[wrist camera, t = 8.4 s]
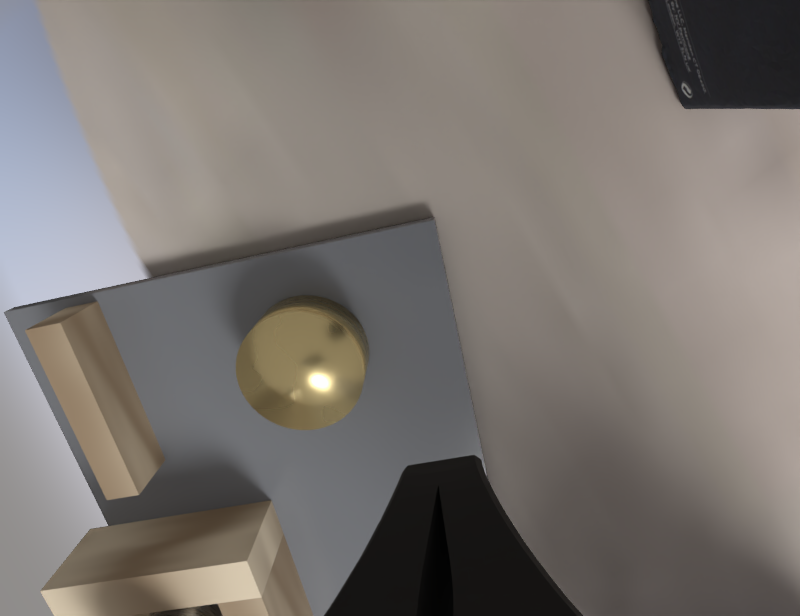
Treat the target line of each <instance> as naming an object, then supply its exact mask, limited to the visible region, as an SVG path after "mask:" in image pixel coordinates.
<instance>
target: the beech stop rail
mask: <svg viewBox="0 0 800 616" xmlns="http://www.w3.org/2000/svg"><path fill="white" fill-rule="evenodd" d="M25 332H26V334H27V336H28V338H29V340H30V342H31V344H32V346H33V348H34V350H35V352H36V355H37V357H38V359H39V361H40V363H41V365H42V367H43V369H44V371H45V373H46V375H47V377H48V379H49V381H50V384H51V386H52V388H53V390H54V392H55V394H56V396H57V398H58V400H59V402H60V404H61V406H62V408H63V410H64V413H65V415H66V417H67V419H68V421H69V423H70V425H71V427H72V429H73V431H74V433H75V435H76V437H77V439H78V442H79V444H80V446H81V448H82V450H83V452H84V454H85V456H86V458H87V460H88V462H89V464H90V466H91V468H92V471H93V473H94V475H95V477H96V479H97V481H98V483H99V485H100V487H101V489H102V491H103V493H104V495H105V497H106V500H112V499H118V498H124V497H130V496H136V495H139V494H140V493H141V492H142V490H143V489H144V488H145V486H146V485H147V484H148V482H149V481H150V480H151V478H152V477H153V476H154V474H155V473H156V472H157V470H158V469H159V468H160V467H161V465H162V464H163V463H164V461H165V457H164V455H163V453H162V450H161V448H160V446H159V443H158V441H157V439H156V436H155V434H154V432H153V429H152V427H151V425H150V422H149V420H148V418H147V415H146V413H145V411H144V408H143V406H142V404H141V401H140V399H139V397H138V394H137V392H136V390H135V387H134V385H133V383H132V380H131V378H130V376H129V373H128V371H127V369H126V366H125V364H124V362H123V359H122V357H121V355H120V352H119V350H118V348H117V345H116V343H115V341H114V338H113V336H112V334H111V331H110V329H109V327H108V324H107V322H106V320H105V317H104V315H103V313H102V310H101V308H100V305H99V303H98V301H97V302H92V303H87V304H83V305H78V306H73V307H68V308H65V309H63V310H61V311H59V312H57V313H56V314H54V315H52V316H50V317H48V318H46V319H45V320H43V321H41V322H39V323H37V324H35V325H34V326H32V327H30V328H28V329H26V330H25Z"/></svg>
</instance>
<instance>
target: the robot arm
mask: <svg viewBox="0 0 800 616" xmlns="http://www.w3.org/2000/svg"><path fill="white" fill-rule="evenodd" d="M324 616H583V615H582V614H581V613H580V612H579V611H578V610H577V608H576V607H575V606H574V605H573V604H572V603H571V602H570V600H569V599H568V598H567V597H566V596H565V594H564V593H563V592H562V591H561V590H560V588H559V587H558V586H557V585H556V583H555V582H554V581H553V580H552V578H551V577H550V576H549V575H548V573H547V572H546V571H545V569H544V568H543V567H542V565H541V564H540V563H539V561H538V560H537V559H536V557H535V556H534V555H533V553H532V552H531V551H530V549H529V548H528V546H527V545H526V543H525V542H524V541H523V539H522V538H521V536H520V535H519V533H518V532H517V530H516V528H515V527H514V525H513V524H512V522H511V521H510V519H509V518H508V516H507V514H506V513H505V511H504V509H503V508H502V506H501V504H500V503H499V501H498V499H497V497H496V495H495V493H494V491H493V489H492V488H491V485H490V483H489V481H488V479H487V476H486V474H485V471H484V468H483V465H482V460H481V459H480V458H478V457H477V456H475V455H469V456H463V457H457V458H451V459H445V460H438V461H432V462H426V463H420V464H414V465H408V466H407V467H406V468H405V469H404V471H403V472H402V474H401V477H400V479H399V481H398V484H397V486H396V488H395V490H394V493H393V495H392V497H391V499H390V501H389V503H388V505H387V507H386V510H385V512H384V514H383V516H382V518H381V520H380V522H379V524H378V525H377V527H376V529H375V531H374V533H373V535H372V537H371V539H370V540H369V542H368V544H367V546H366V548H365V550H364V552H363V553H362V555H361V557H360V559H359V560H358V562H357V564H356V565H355V567H354V569H353V570H352V572H351V574H350V575H349V577H348V579H347V580H346V582H345V583H344V585H343V587H342V588H341V590H340V592H339V593H338V595H337V597H336V598H335V600H334V601H333V603H332V604H331V606H330V607H329V609H328V610H327V612H326V613H325V615H324Z"/></svg>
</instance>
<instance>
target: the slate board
mask: <svg viewBox="0 0 800 616" xmlns="http://www.w3.org/2000/svg"><path fill="white" fill-rule="evenodd" d="M300 295H313V296H320V297H324V298H327V299H330V300H332V301H335V302H336V303H338V304H340V305H342V306H343V307H345V308H346V309H347V310H349V311H350V312H351V313H352V314H353V315H354V316H355V317H356V319H357V320H358V321H359V323H360V324H361V326H362V327H363V329H364V331H365V333H366V336H367V339H368V344H369V362H368V366H367V371H366V375H365V379H364V383H363V388H362V392H361V395H360V397H359V399H358V401H357V403H356V405H355V406H354V407H353V409H352V410H351V411H350V412H349V413H348V414H347V415H346V416H345V417H344V418H342V419H341V420H339V421H338V422H336V423H334V424H332V425H330V426H327V427H324V428H320V429H315V430H296V429H290V428H286V427H283V426H280V425H277V424H275V423H273V422H271V421H269V420H267V419H266V418H264V417H263V416H261V415H260V414H259V413H258V412H256V411H255V410H254V409H253V408H252V407H251V405H250V404H249V403H248V402H247V400H246V399H245V397H244V395H243V394H242V392H241V389H240V387H239V384H238V381H237V376H236V358H237V354H238V350H239V348H240V346H241V343H242V342H243V340H244V339H245V337H246V336H247V334H248V333H249V332H250V331H251V329H252V328H253V327H254V326H255V324H256V323H257V322H258V321H259V319H260V318H261V317H262V316H263V315H264V313H265V312H266V311H267V310H268V309H269V308H271V307H272V306H273V305H275V304H276V303H278V302H280V301H282V300H284V299H287V298H290V297H294V296H300ZM97 301H98V303H99V305H100V308H101V310H102V313H103V315H104V317H105V320H106V322H107V324H108V327H109V329H110V331H111V334H112V336H113V338H114V341H115V343H116V345H117V348H118V350H119V352H120V355H121V357H122V359H123V362H124V364H125V366H126V369H127V371H128V373H129V376H130V378H131V380H132V383H133V385H134V387H135V390H136V392H137V394H138V397H139V399H140V401H141V404H142V406H143V408H144V411H145V413H146V415H147V418H148V420H149V422H150V425H151V427H152V429H153V432H154V434H155V436H156V439H157V441H158V443H159V446H160V448H161V450H162V453H163V455H164V457H165V461H164V463H163V464H162V465H161V467H160V468H159V469H158V470H157V472H156V473H155V474H154V476H153V477H152V478H151V480H150V481H149V482H148V484H147V485H146V486H145V488H144V489H143V490H142V492H141V493H140V494H139V495H136V496H130V497H124V498H118V499H112V500H106V497H105V495H104V493H103V491H102V489H101V487H100V485H99V483H98V481H97V479H96V477H95V475H94V473H93V471H92V468H91V466H90V464H89V462H88V460H87V458H86V456H85V454H84V452H83V450H82V448H81V446H80V444H79V442H78V439H77V437H76V435H75V433H74V431H73V429H72V427H71V425H70V423H69V421H68V419H67V417H66V415H65V413H64V410H63V408H62V406H61V404H60V402H59V400H58V398H57V396H56V394H55V392H54V390H53V388H52V386H51V384H50V381H49V379H48V377H47V375H46V373H45V371H44V369H43V367H42V365H41V363H40V361H39V359H38V357H37V355H36V352H35V350H34V348H33V346H32V344H31V342H30V340H29V338H28V336H27V334H26V332H25V330H26V329H28V328H30V327H32V326H34V325H35V324H37V323H39V322H41V321H43V320H45V319H46V318H48V317H50V316H52V315H54V314H56V313H57V312H59V311H61V310H63V309H65V308H68V307H73V306H78V305H83V304H87V303H92V302H97ZM4 314H5V316H6V318H7V319H8V322H9V324H10V326H11V328H12V330H13V332H14V334H15V336H16V338H17V340H18V342H19V344H20V346H21V348H22V350H23V352H24V354H25V356H26V359H27V360H28V363H29V365H30V367H31V369H32V371H33V373H34V375H35V377H36V379H37V381H38V383H39V385H40V387H41V389H42V391H43V393H44V395H45V397H46V399H47V401H48V403H49V405H50V407H51V409H52V412H53V413H54V416H55V418H56V420H57V422H58V424H59V426H60V428H61V430H62V432H63V434H64V436H65V438H66V440H67V442H68V444H69V446H70V448H71V450H72V452H73V454H74V456H75V458H76V460H77V462H78V464H79V467H80V469H81V471H82V473H83V475H84V477H85V479H86V481H87V483H88V485H89V487H90V489H91V491H92V493H93V495H94V497H95V499H96V501H97V503H98V505H99V507H100V509H101V511H102V513H103V515H104V518H105V520H106V522H107V524H108V526H112V525H119V524H125V523H131V522H138V521H144V520H150V519H157V518H163V517H169V516H175V515H182V514H188V513H194V512H201V511H207V510H213V509H220V508H226V507H232V506H238V505H245V504H251V503H257V502H264V501H270V500H271V501H272V503H273V506H274V509H275V511H276V514H277V517H278V520H279V522H280V525H281V528H282V531H283V533H284V536H285V539H286V542H287V544H288V547H289V550H290V553H291V555H292V558H293V561H294V564H295V566H296V569H297V572H298V575H299V577H300V580H301V583H302V586H303V588H304V591H305V594H306V597H307V599H308V602H309V605H310V608H311V610H312V613H313V616H324V615H325V613H326V612H327V610H328V609H329V607H330V606H331V604H332V603H333V601H334V600H335V598H336V597H337V595H338V593H339V592H340V590H341V588H342V587H343V585H344V583H345V582H346V580H347V579H348V577H349V575H350V574H351V572H352V570H353V569H354V567H355V565H356V564H357V562H358V560H359V559H360V557H361V555H362V553H363V552H364V550H365V548H366V546H367V544H368V542H369V540H370V539H371V537H372V535H373V533H374V531H375V529H376V527H377V525H378V524H379V522H380V520H381V518H382V516H383V514H384V512H385V510H386V507H387V505H388V503H389V501H390V499H391V497H392V495H393V493H394V490H395V488H396V486H397V484H398V481H399V479H400V477H401V474H402V472H403V471H404V469H405V468H406V467H407V466H408V465H414V464H420V463H426V462H432V461H438V460H445V459H451V458H457V457H463V456H469V455H475V456H477V457H478V458H480V459H481V460H482V465H483V468H484V471H485V474H486V476H487V472H486V467H485V462H484V457H483V452H482V447H481V442H480V437H479V433H478V428H477V423H476V418H475V413H474V408H473V403H472V399H471V394H470V389H469V384H468V379H467V374H466V369H465V364H464V360H463V355H462V350H461V345H460V340H459V335H458V330H457V325H456V321H455V316H454V311H453V306H452V301H451V296H450V291H449V287H448V282H447V277H446V272H445V267H444V262H443V257H442V252H441V248H440V243H439V238H438V233H437V228H436V223H435V218H434V217H432V218H427V219H423V220H418V221H413V222H409V223H404V224H400V225H395V226H390V227H386V228H381V229H376V230H372V231H367V232H362V233H358V234H353V235H348V236H344V237H339V238H334V239H330V240H325V241H321V242H316V243H311V244H307V245H302V246H297V247H293V248H288V249H283V250H279V251H274V252H269V253H265V254H260V255H256V256H251V257H246V258H242V259H237V260H232V261H228V262H223V263H218V264H214V265H209V266H204V267H200V268H195V269H190V270H186V271H181V272H177V273H172V274H167V275H163V276H158V277H153V278H149V279H144V280H139V281H135V282H130V283H126V284H121V285H116V286H112V287H108V288H102V289H98V290H94V291H89V292H84V293H79V294H74V295H70V296H65V297H60V298H56V299H51V300H47V301H42V302H37V303H33V304H28V305H23V306H19V307H14V308H12V309H10V310H8V311H6V312H4ZM487 479H488V476H487Z"/></svg>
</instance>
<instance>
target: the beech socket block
mask: <svg viewBox="0 0 800 616" xmlns="http://www.w3.org/2000/svg"><path fill="white" fill-rule="evenodd" d="M41 593H42V595H43V597H44V599H45V600H46V602H47V604H48V606H49V607H50V609H51V611H52V613H53V615H54V616H148V615H149V613H152V612H160V611H167V610H174V609H181V608H189V607H196V606H203V605H211V604H218V606H219V608H220V610H221V613H222V615H223V616H313V613H312V610H311V608H310V605H309V602H308V599H307V597H306V594H305V591H304V588H303V586H302V583H301V580H300V577H299V575H298V572H297V569H296V566H295V564H294V561H293V558H292V555H291V553H290V550H289V547H288V544H287V542H286V539H285V536H284V533H283V531H282V528H281V525H280V522H279V520H278V517H277V514H276V511H275V509H274V506H273V503H272V501H271V500H270V501H264V502H257V503H251V504H245V505H238V506H232V507H226V508H220V509H213V510H207V511H201V512H194V513H188V514H182V515H175V516H169V517H163V518H157V519H150V520H144V521H138V522H131V523H125V524H119V525H112V526H106V527H100V528H94V529H90V530H89V531H88V533H87V534H86V535H85V536H84V537H83V539H82V540H81V541H80V543H79V544H78V545H77V546H76V547H75V549H74V550H73V551H72V552H71V554H70V555H69V556H68V557H67V559H66V560H65V561H64V562H63V564H62V565H61V566H60V567H59V569H58V570H57V571H56V572H55V574H54V575H53V576H52V577H51V578H50V580H49V581H48V582H47V583H46V585H45V586H44V587H43V588H42V590H41Z"/></svg>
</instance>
